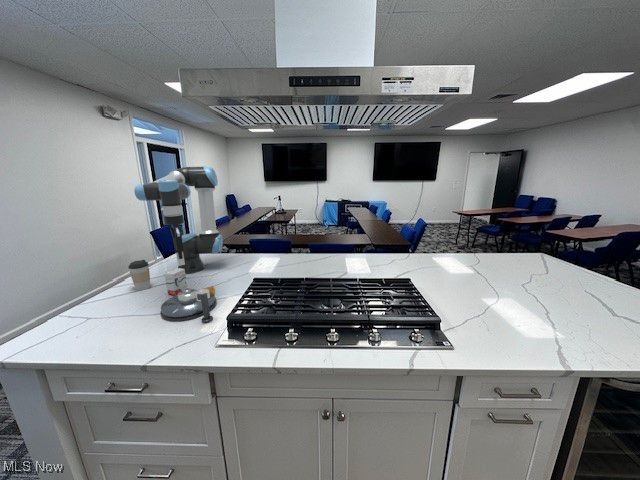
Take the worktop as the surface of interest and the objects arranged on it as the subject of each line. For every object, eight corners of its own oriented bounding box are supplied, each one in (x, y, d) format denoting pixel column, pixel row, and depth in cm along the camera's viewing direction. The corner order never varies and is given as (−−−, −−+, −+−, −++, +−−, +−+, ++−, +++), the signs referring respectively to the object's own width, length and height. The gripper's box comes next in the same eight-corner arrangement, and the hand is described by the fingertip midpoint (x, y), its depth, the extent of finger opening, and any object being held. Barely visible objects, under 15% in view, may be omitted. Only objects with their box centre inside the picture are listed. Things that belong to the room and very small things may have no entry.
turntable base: (183, 295, 127) (182, 293, 127) (225, 297, 125) (225, 295, 124) (147, 320, 105) (147, 318, 105) (198, 323, 102) (198, 321, 102)
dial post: (204, 315, 108) (200, 289, 105) (216, 316, 107) (212, 289, 104) (197, 322, 103) (192, 294, 100) (209, 323, 102) (205, 295, 99)
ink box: (176, 295, 127) (172, 274, 124) (167, 295, 128) (164, 273, 125) (188, 288, 135) (185, 268, 132) (180, 287, 136) (177, 267, 133)
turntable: (183, 293, 127) (181, 282, 125) (224, 295, 124) (222, 283, 122) (149, 316, 105) (146, 304, 104) (197, 319, 103) (195, 306, 101)
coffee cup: (138, 292, 131) (132, 265, 128) (129, 288, 136) (123, 262, 132) (156, 285, 139) (151, 260, 135) (147, 282, 143) (142, 258, 139)
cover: (186, 296, 119) (184, 285, 117) (202, 297, 118) (200, 286, 116) (174, 304, 111) (172, 293, 110) (191, 305, 110) (189, 294, 109)
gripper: (161, 214, 114) (170, 262, 120) (165, 217, 104) (174, 270, 110) (180, 212, 119) (187, 259, 125) (185, 215, 109) (193, 266, 115)
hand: (181, 264), depth 117 cm, fingers closed
